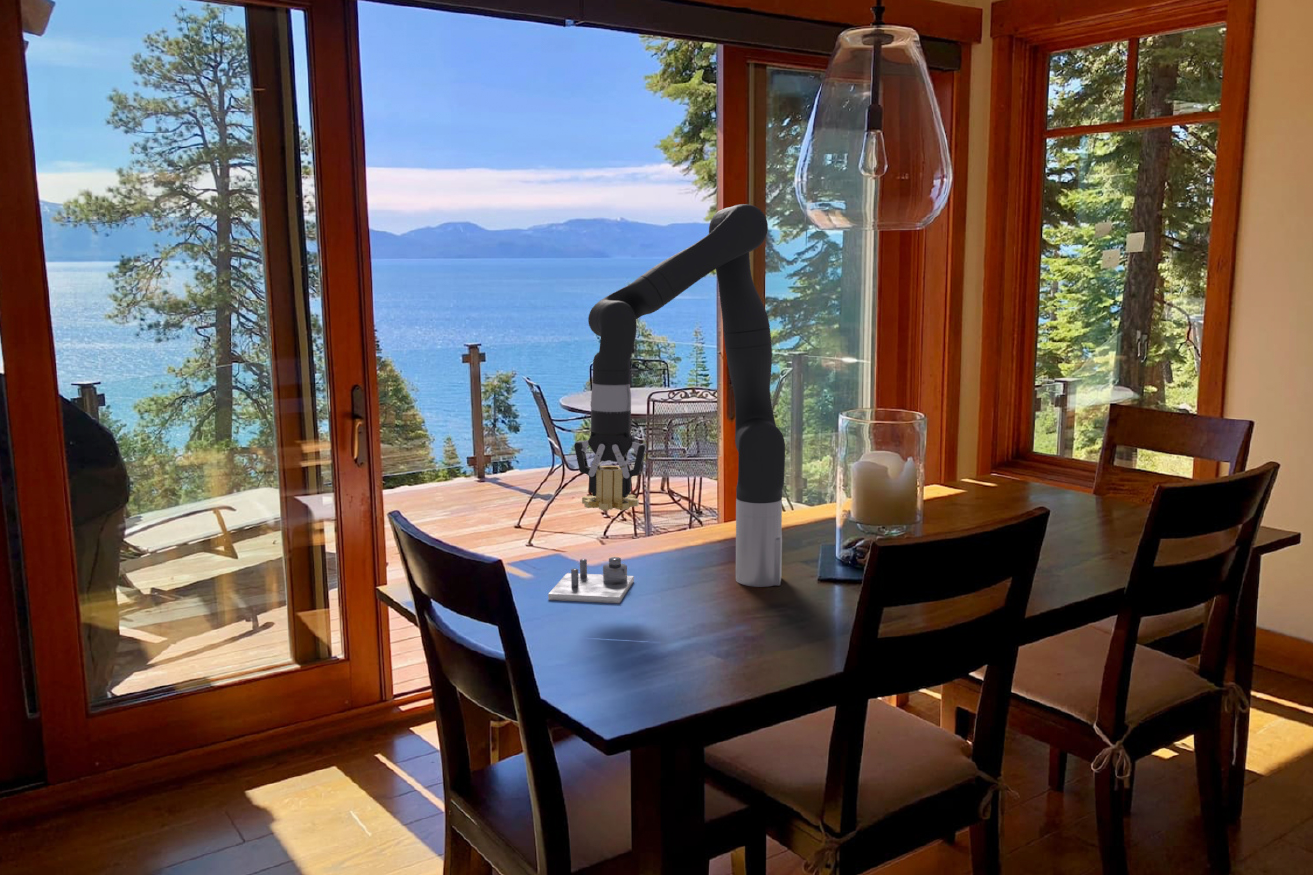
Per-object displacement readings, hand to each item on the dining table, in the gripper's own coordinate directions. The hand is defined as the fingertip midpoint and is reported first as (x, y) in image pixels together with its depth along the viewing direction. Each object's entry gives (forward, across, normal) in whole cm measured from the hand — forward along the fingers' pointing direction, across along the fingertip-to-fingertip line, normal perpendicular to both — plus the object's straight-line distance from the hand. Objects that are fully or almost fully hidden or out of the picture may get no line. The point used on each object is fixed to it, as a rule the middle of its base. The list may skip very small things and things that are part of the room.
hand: (610, 495), depth 184 cm
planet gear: (+2, 0, 0) cm, 2 cm away
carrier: (+20, +4, -4) cm, 21 cm away
